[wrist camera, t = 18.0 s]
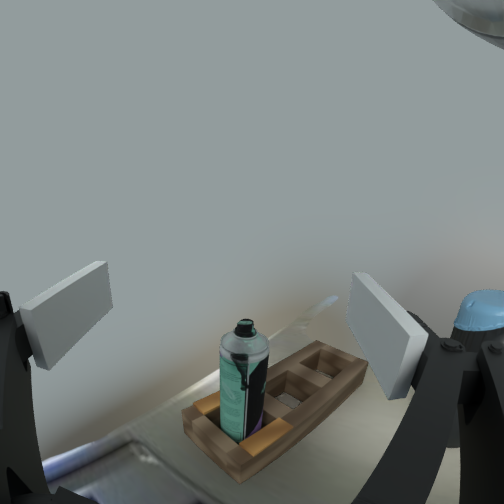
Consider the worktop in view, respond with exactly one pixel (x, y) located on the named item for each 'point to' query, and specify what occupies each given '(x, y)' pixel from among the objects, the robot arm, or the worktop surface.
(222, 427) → the spray can
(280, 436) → the rack
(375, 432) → the worktop surface
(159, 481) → the worktop surface
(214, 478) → the worktop surface
